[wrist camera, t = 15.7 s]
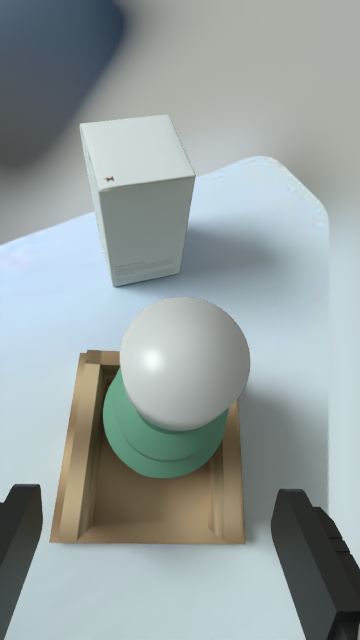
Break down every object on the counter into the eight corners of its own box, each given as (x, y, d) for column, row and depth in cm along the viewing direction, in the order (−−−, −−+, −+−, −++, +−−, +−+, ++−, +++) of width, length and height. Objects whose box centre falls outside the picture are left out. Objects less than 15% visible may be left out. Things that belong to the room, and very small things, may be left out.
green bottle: (108, 441, 26) (18, 349, 7) (155, 395, 28) (183, 228, 9) (153, 493, 25) (189, 546, 6) (199, 441, 27) (338, 357, 8)
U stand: (82, 356, 30) (65, 324, 23) (233, 364, 31) (255, 336, 25) (52, 540, 24) (19, 563, 17) (241, 541, 25) (275, 564, 19)
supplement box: (181, 274, 35) (199, 177, 23) (111, 288, 33) (94, 191, 22) (162, 221, 38) (170, 111, 26) (97, 232, 36) (76, 120, 25)
